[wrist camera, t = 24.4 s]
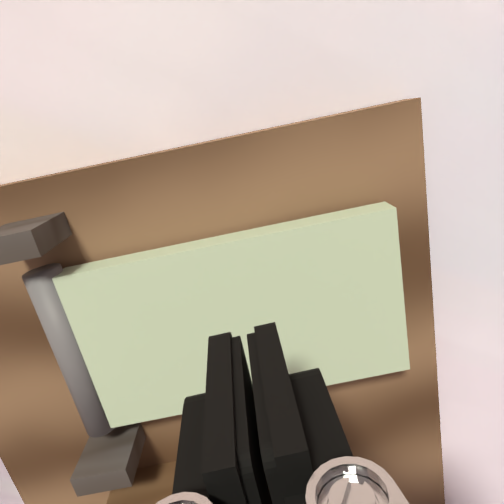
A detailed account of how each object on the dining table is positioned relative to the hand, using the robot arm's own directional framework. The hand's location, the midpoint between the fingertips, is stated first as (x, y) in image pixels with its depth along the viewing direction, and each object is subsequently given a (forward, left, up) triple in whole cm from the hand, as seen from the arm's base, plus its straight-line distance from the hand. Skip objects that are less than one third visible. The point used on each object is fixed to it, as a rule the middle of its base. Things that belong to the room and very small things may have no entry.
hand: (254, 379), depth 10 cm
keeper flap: (0, -6, -4) cm, 8 cm away
